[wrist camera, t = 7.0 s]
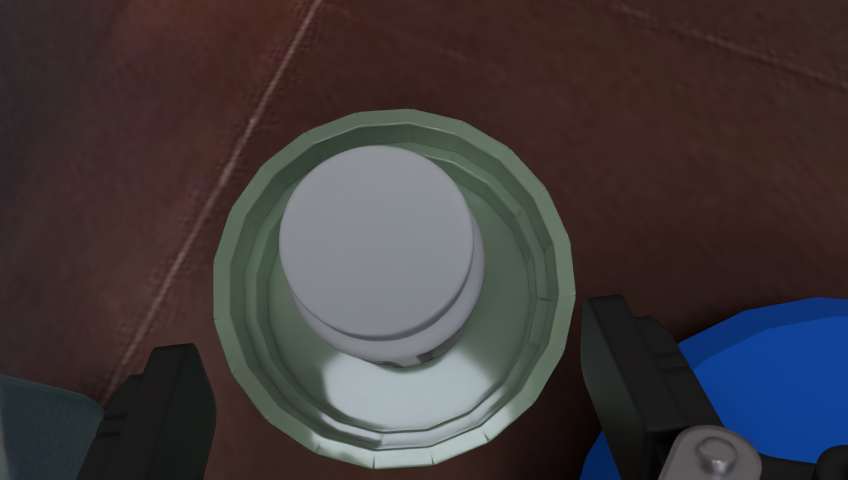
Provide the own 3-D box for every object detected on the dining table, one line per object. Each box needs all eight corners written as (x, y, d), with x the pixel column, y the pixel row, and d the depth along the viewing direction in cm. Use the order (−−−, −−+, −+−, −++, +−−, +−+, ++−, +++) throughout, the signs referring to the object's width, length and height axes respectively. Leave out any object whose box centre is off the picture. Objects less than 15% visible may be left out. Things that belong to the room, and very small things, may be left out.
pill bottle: (450, 205, 23) (459, 100, 14) (490, 345, 22) (525, 319, 13) (308, 243, 22) (236, 157, 14) (343, 386, 21) (287, 384, 13)
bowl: (306, 506, 21) (281, 528, 18) (206, 213, 23) (166, 182, 20) (603, 383, 22) (635, 381, 18) (481, 108, 24) (489, 61, 20)
